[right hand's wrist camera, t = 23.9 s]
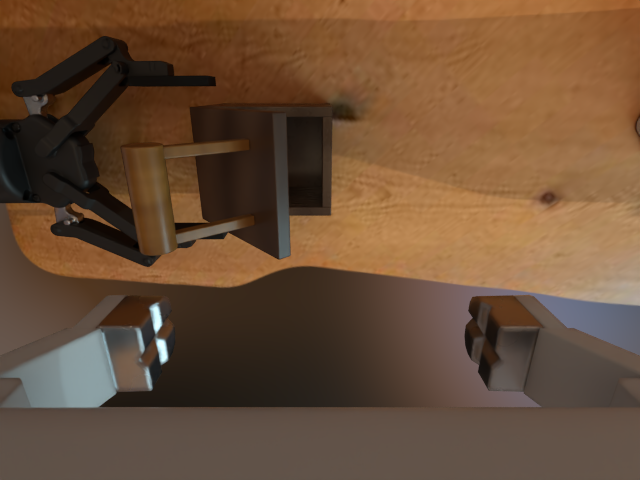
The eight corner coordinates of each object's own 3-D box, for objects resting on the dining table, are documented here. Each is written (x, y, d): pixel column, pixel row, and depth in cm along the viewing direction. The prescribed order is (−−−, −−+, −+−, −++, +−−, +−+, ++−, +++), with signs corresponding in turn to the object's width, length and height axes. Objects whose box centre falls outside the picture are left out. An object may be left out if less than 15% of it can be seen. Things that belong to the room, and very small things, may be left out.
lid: (286, 111, 23) (133, 117, 17) (291, 256, 26) (164, 297, 21) (201, 106, 31) (80, 109, 26) (213, 216, 34) (108, 238, 29)
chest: (329, 103, 40) (332, 106, 31) (328, 192, 43) (331, 215, 35) (223, 103, 40) (197, 106, 31) (230, 192, 43) (209, 215, 35)
